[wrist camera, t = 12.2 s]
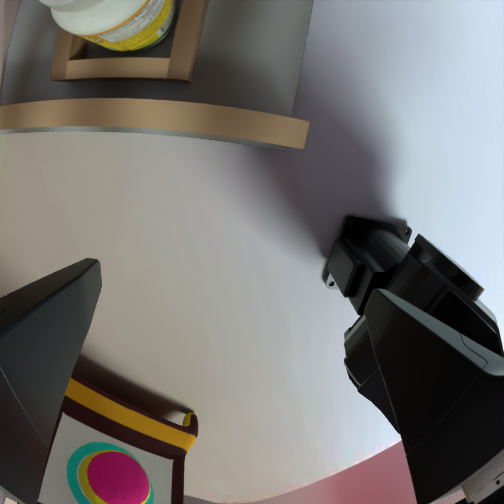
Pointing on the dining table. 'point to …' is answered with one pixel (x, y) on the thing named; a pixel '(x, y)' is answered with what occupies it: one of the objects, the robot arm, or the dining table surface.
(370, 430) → the dining table surface
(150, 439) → the decorative lantern
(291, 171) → the dining table surface
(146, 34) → the supplement bottle
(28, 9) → the board
